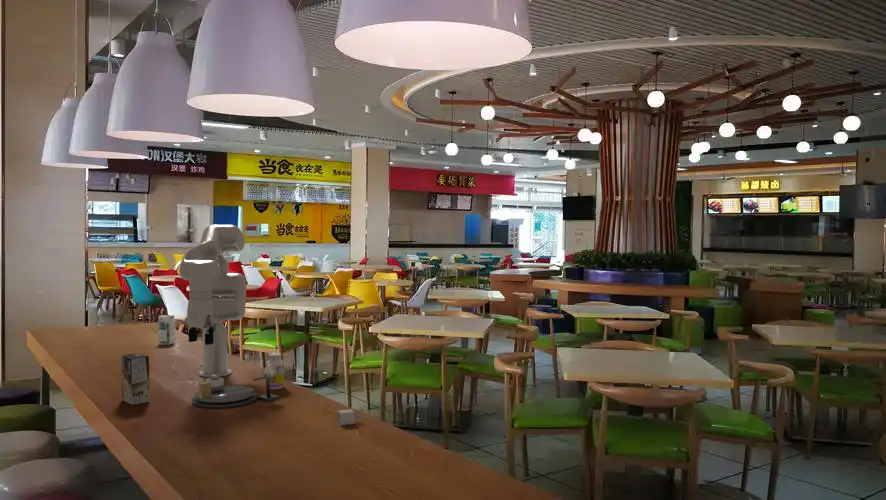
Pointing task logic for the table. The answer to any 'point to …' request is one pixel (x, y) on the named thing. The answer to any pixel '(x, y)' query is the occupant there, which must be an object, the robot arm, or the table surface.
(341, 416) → the usb wall charger
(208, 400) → the platter
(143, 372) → the coffee box
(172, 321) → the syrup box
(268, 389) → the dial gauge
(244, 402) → the turntable base
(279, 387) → the supplement bottle
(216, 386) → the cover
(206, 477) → the table surface
